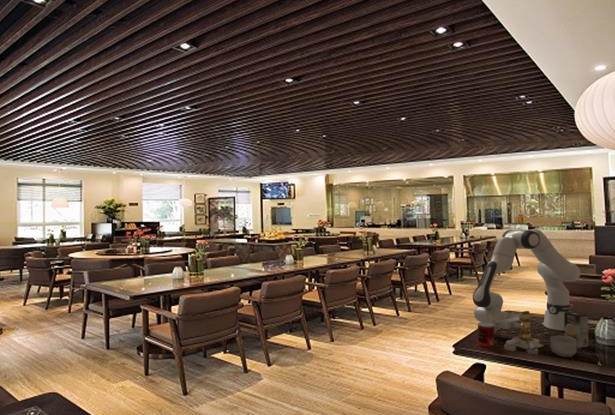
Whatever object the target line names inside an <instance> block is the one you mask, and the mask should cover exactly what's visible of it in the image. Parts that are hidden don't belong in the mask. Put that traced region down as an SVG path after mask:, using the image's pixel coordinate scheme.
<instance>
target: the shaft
mask: <svg viewBox="0 0 615 415" xmlns="http://www.w3.org/2000/svg"><path fill="white" fill-rule="evenodd" d="M526 344H527V345H528V346H529V347H530V348H526V349H525V350H526V353H527V354H528V355H537V356H538V355H539V350H538V348H536V347H535V345H534V344H533V343H532V342H531V341H530V340H526Z"/></svg>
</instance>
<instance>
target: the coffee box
mask: <svg viewBox="0 0 615 415" xmlns="http://www.w3.org/2000/svg"><path fill="white" fill-rule="evenodd" d="M563 335H564V336H566V337H569V336H570V337H572V338H574V339H576V346H577V348H587V347H589V315H588V314H586V313H582V312H577V311H574V310H571V311H570V312H564V332H563Z"/></svg>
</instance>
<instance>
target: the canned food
mask: <svg viewBox="0 0 615 415" xmlns="http://www.w3.org/2000/svg"><path fill="white" fill-rule="evenodd" d="M477 344H478V346H479V347H481V348H485V349H491V348H493V347H494V346H495V326H494V324H492V323H487V322H480V321H479V322H478V323H477Z"/></svg>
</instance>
